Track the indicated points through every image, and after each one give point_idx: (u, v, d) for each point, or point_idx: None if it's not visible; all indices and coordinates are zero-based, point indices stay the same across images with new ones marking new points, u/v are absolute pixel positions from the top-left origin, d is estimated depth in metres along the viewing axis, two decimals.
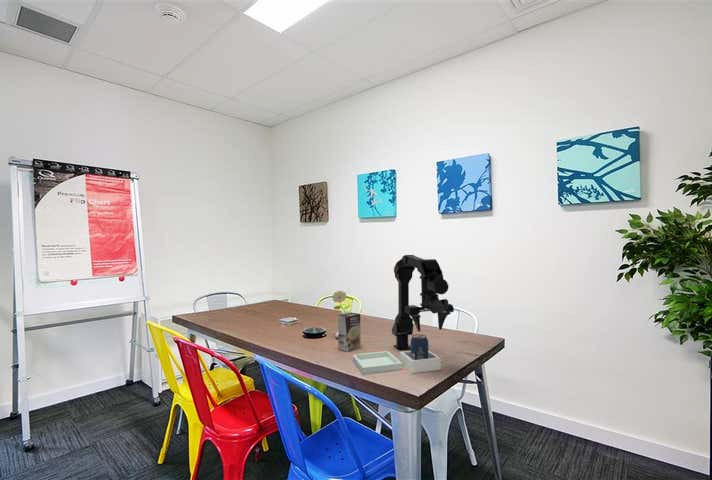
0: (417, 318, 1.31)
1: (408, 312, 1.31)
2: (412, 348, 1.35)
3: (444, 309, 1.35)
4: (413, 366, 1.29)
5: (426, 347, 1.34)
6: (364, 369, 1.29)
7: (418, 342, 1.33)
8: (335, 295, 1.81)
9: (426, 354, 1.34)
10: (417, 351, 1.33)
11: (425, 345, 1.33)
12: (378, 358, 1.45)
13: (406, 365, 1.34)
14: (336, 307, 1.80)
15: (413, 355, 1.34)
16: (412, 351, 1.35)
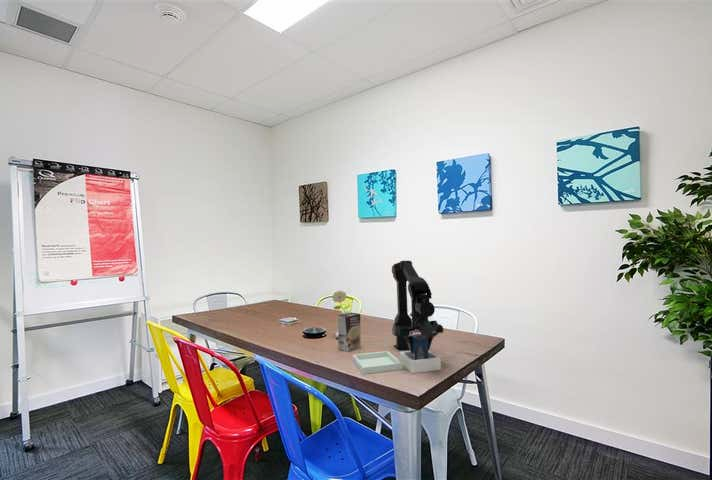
0: (410, 339, 1.33)
1: (398, 333, 1.33)
2: None
3: None
4: (413, 366, 1.29)
5: (426, 347, 1.34)
6: (364, 369, 1.29)
7: (418, 342, 1.33)
8: (335, 295, 1.81)
9: (426, 354, 1.34)
10: (417, 351, 1.33)
11: (425, 345, 1.33)
12: (378, 358, 1.45)
13: (406, 365, 1.34)
14: (336, 307, 1.80)
15: (413, 355, 1.34)
16: (412, 351, 1.35)
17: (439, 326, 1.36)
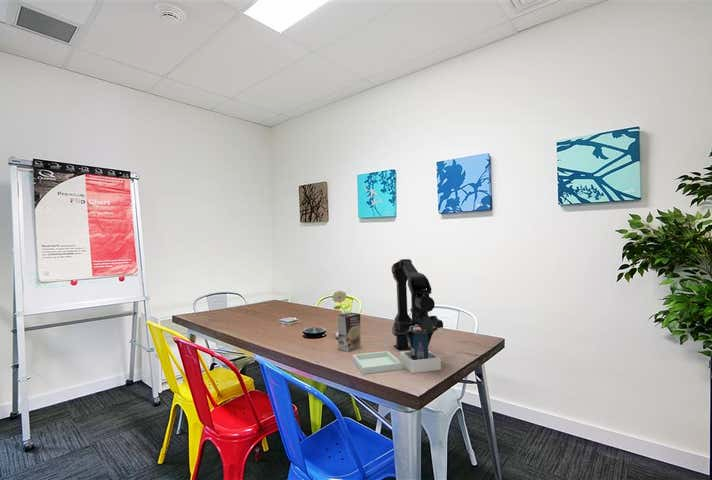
0: (409, 334, 1.33)
1: (398, 328, 1.33)
2: None
3: None
4: (413, 366, 1.29)
5: (426, 342, 1.34)
6: (364, 369, 1.29)
7: (418, 337, 1.33)
8: (335, 295, 1.81)
9: (426, 349, 1.34)
10: (416, 346, 1.33)
11: (425, 340, 1.33)
12: (378, 358, 1.45)
13: (406, 365, 1.34)
14: (336, 307, 1.80)
15: (413, 350, 1.34)
16: (412, 346, 1.35)
17: (439, 321, 1.36)
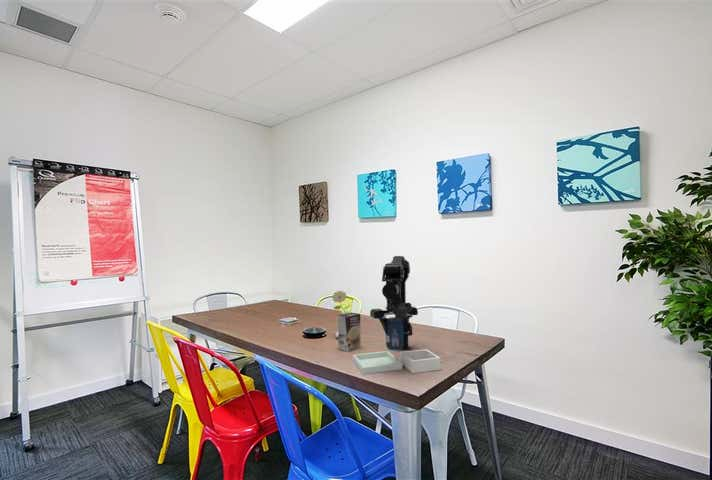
0: (384, 321, 1.35)
1: (373, 315, 1.34)
2: (387, 330, 1.36)
3: (406, 312, 1.38)
4: (413, 366, 1.29)
5: (400, 329, 1.35)
6: (364, 369, 1.29)
7: (392, 324, 1.35)
8: (335, 295, 1.81)
9: (400, 336, 1.35)
10: (391, 334, 1.35)
11: (400, 327, 1.35)
12: (378, 358, 1.45)
13: (406, 365, 1.34)
14: (336, 307, 1.80)
15: (388, 337, 1.36)
16: (387, 333, 1.36)
17: (413, 308, 1.38)
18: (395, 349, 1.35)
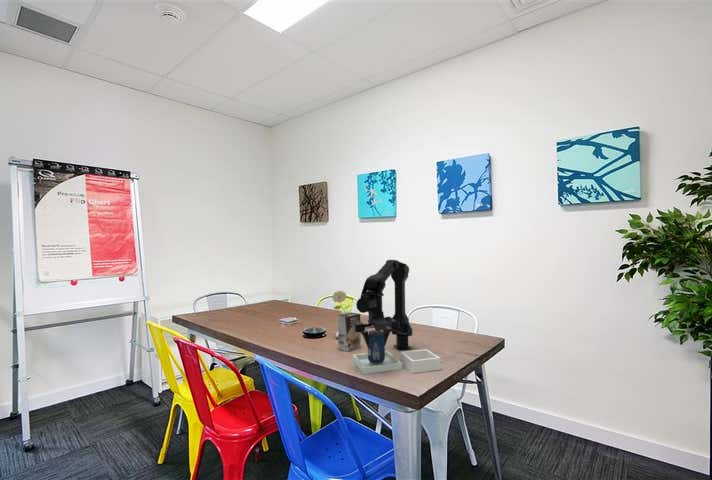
0: (365, 334, 1.36)
1: (354, 329, 1.36)
2: None
3: (388, 326, 1.39)
4: (413, 366, 1.29)
5: (382, 343, 1.36)
6: (364, 369, 1.29)
7: (373, 338, 1.36)
8: (335, 295, 1.81)
9: (381, 350, 1.36)
10: (372, 347, 1.36)
11: (381, 341, 1.36)
12: None
13: (406, 365, 1.34)
14: (336, 307, 1.80)
15: (369, 350, 1.37)
16: (368, 347, 1.38)
17: (395, 322, 1.39)
18: (376, 362, 1.36)
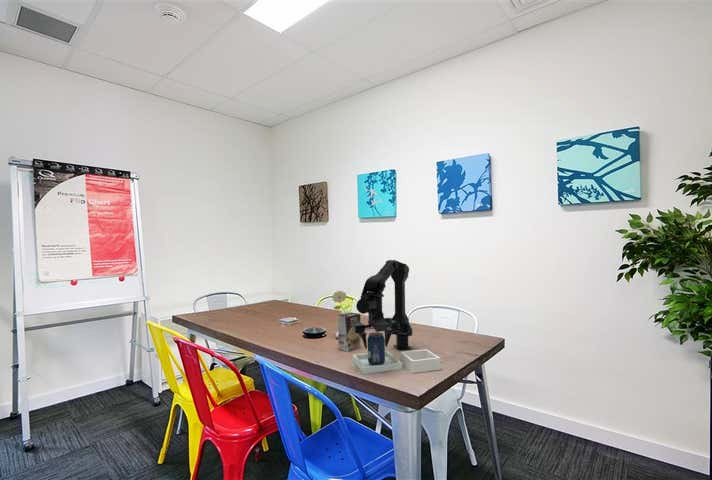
0: (363, 336, 1.36)
1: (354, 330, 1.36)
2: (368, 346, 1.38)
3: (390, 327, 1.40)
4: (413, 366, 1.29)
5: (382, 345, 1.36)
6: (364, 369, 1.29)
7: (373, 340, 1.36)
8: (335, 295, 1.81)
9: (381, 352, 1.36)
10: (372, 349, 1.36)
11: (381, 343, 1.36)
12: None
13: (406, 365, 1.34)
14: (336, 307, 1.80)
15: (369, 353, 1.37)
16: (368, 349, 1.38)
17: (395, 323, 1.39)
18: None
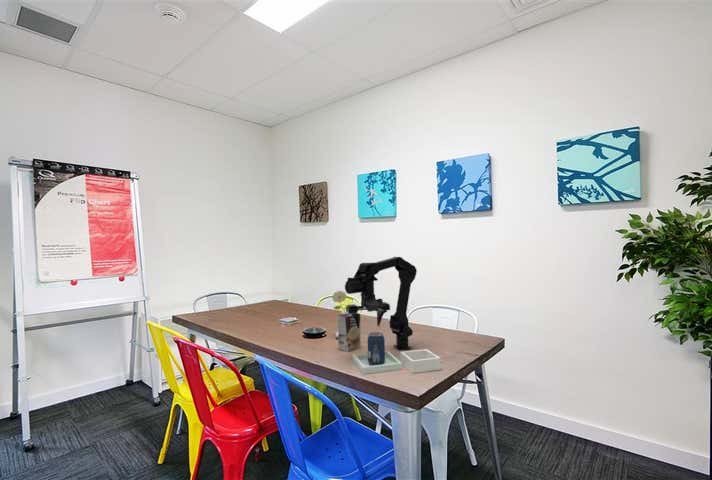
0: (356, 316, 1.46)
1: (348, 310, 1.46)
2: (368, 346, 1.38)
3: (381, 308, 1.50)
4: (413, 366, 1.29)
5: (382, 345, 1.36)
6: (364, 369, 1.29)
7: (373, 340, 1.36)
8: (335, 295, 1.81)
9: (381, 352, 1.36)
10: (372, 349, 1.36)
11: (381, 343, 1.36)
12: None
13: (406, 365, 1.34)
14: (336, 307, 1.80)
15: (369, 353, 1.37)
16: (368, 349, 1.38)
17: (386, 304, 1.49)
18: None
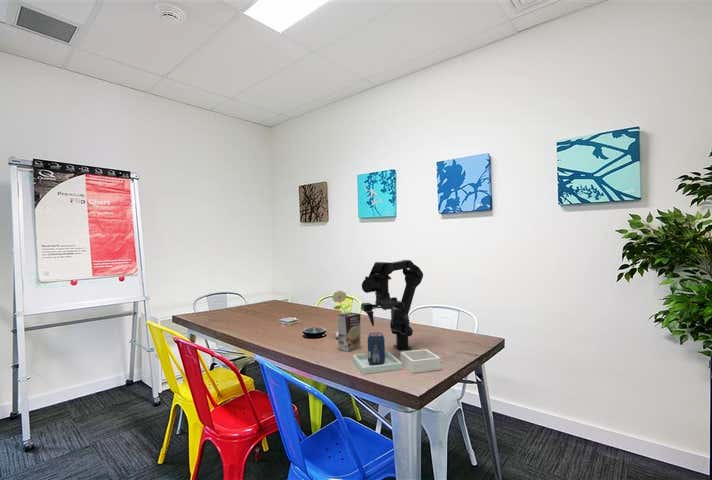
0: (371, 314, 1.48)
1: (363, 309, 1.48)
2: (368, 346, 1.38)
3: None
4: (413, 366, 1.29)
5: (382, 345, 1.36)
6: (364, 369, 1.29)
7: (373, 340, 1.36)
8: (335, 295, 1.81)
9: (381, 352, 1.36)
10: (372, 349, 1.36)
11: (381, 343, 1.36)
12: None
13: (406, 365, 1.34)
14: (336, 307, 1.80)
15: (369, 353, 1.37)
16: (368, 349, 1.38)
17: (400, 303, 1.51)
18: None
